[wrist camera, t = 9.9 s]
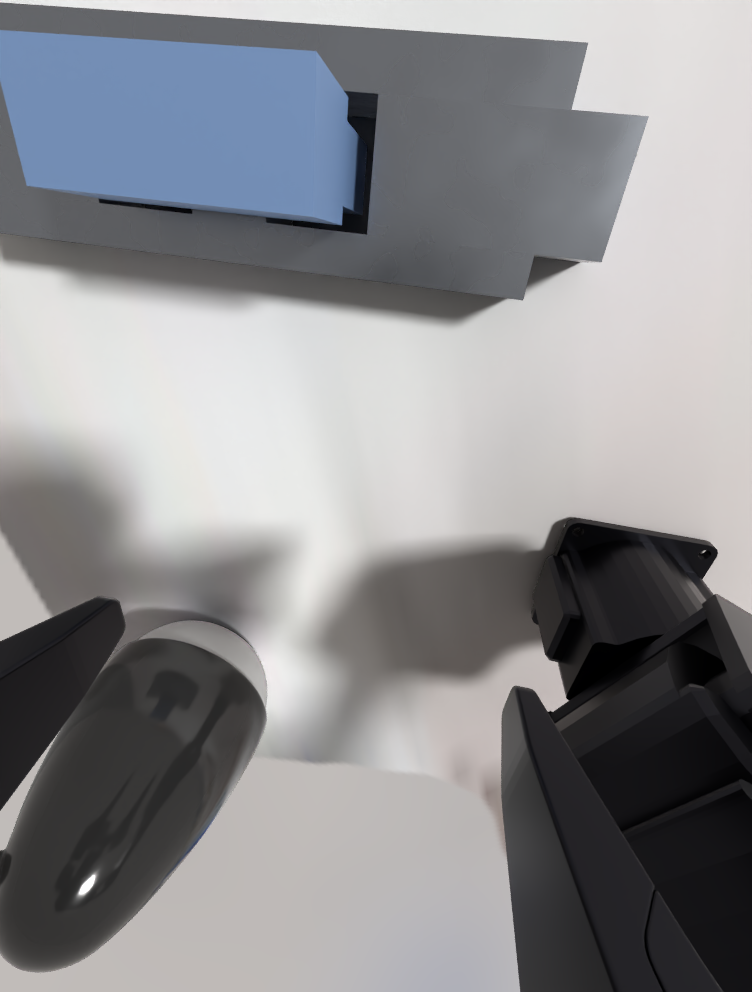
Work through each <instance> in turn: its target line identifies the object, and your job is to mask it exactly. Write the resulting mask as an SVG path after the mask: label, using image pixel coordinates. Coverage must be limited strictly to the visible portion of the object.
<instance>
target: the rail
mask: <svg viewBox="0 0 752 992" xmlns="http://www.w3.org/2000/svg"><path fill="white" fill-rule="evenodd" d="M0 30H7V31H22V32H37V33H52V34H67V35H82V36H97V37H112V38H127V39H142V40H157V41H172V42H187V43H202V44H217V45H232V46H247V47H262V48H277V49H292V50H306V51H317V53H318V54H319V56H320V57H321V58H322V60H323V61H324V63H325V64H326V66H327V67H328V69H329V70H330V72H331V73H332V74H333V76H334V77H335V79H336V80H337V82H338V83H339V85H340V86H341V87H342V89H343V90H344V92H345V93H346V95H347V96H348V114H347V116H357V117H369V118H376V130H375V142H374V154H373V167H372V179H371V191H370V204H369V216H368V229H367V235H366V234H357V233H349V232H340V231H332V230H323V229H315V228H306V227H298V226H292V220H288V219H279V218H270V217H261V216H252V215H243V214H233V213H224V212H215V211H206V210H197V209H192V214H188V213H179V212H171V211H162V210H154V209H146V207H145V204H142V203H133V202H124V201H114V200H106V199H100V198H94V197H88V196H83V195H77V194H71V193H65V192H59V191H54V190H48V189H42V188H36V187H30V186H27V185H26V181H25V177H24V173H23V169H22V165H21V161H20V157H19V153H18V149H17V145H16V141H15V137H14V133H13V129H12V126H11V122H10V118H9V114H8V110H7V106H6V102H5V98H4V94H3V90H2V86H1V82H0V233H4V234H12V235H20V236H27V237H35V238H43V239H51V240H58V241H66V242H74V243H82V244H90V245H97V246H105V247H113V248H121V249H128V250H136V251H144V252H152V253H160V254H167V255H175V256H183V257H191V258H198V259H206V260H214V261H222V262H230V263H237V264H245V265H253V266H261V267H268V268H276V269H284V270H292V271H300V272H307V273H315V274H323V275H331V276H338V277H346V278H354V279H362V280H369V281H377V282H385V283H393V284H401V285H408V286H416V287H424V288H432V289H439V290H447V291H455V292H463V293H471V294H478V295H486V296H494V297H502V298H509V299H517V300H523V298H524V294H525V290H526V286H527V282H528V278H529V275H530V271H531V267H532V263H533V259H534V257H541V258H550V259H558V260H567V261H575V262H602V259H603V256H604V253H605V250H606V246H607V243H608V240H609V237H610V234H611V231H612V228H613V225H614V222H615V219H616V216H617V212H618V209H619V206H620V203H621V200H622V197H623V194H624V191H625V188H626V185H627V182H628V179H629V175H630V172H631V169H632V166H633V163H634V160H635V157H636V154H637V151H638V148H639V145H640V142H641V138H642V135H643V132H644V129H645V126H646V123H647V120H648V117H649V116H637V115H625V114H614V113H602V112H590V111H578V110H571V109H572V105H573V101H574V97H575V93H576V89H577V85H578V81H579V77H580V73H581V69H582V65H583V61H584V57H585V54H586V50H587V46H588V43H584V42H569V41H554V40H540V39H525V38H510V37H496V36H481V35H467V34H452V33H437V32H423V31H408V30H394V29H379V28H364V27H350V26H335V25H320V24H306V23H291V22H277V21H262V20H247V19H233V18H218V17H204V16H189V15H174V14H160V13H145V12H131V11H116V10H101V9H87V8H72V7H57V6H43V5H28V4H14V3H0Z"/></svg>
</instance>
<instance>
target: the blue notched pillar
mask: <svg viewBox="0 0 752 992" xmlns="http://www.w3.org/2000/svg"><path fill="white" fill-rule="evenodd" d="M0 82H1V86H2V90H3V94H4V98H5V102H6V106H7V110H8V114H9V118H10V122H11V126H12V129H13V133H14V137H15V141H16V145H17V149H18V153H19V157H20V161H21V165H22V169H23V173H24V177H25V181H26V185H27V186H30V187H36V188H42V189H48V190H54V191H59V192H65V193H71V194H77V195H83V196H88V197H94V198H100V199H106V200H114V201H124V202H133V203H142V204H151V205H160V206H169V207H179V208H188V209H197V210H206V211H215V212H224V213H233V214H243V215H252V216H261V217H270V218H279V219H288V220H298V221H307V222H316V223H325V224H334V225H342V214H343V213H347V214H356V215H363V201H364V187H365V173H366V158H367V145H366V143H365V142H364V141H363V140H362V139H361V137H360V136H359V135H358V134H357V132H356V131H355V130H354V129H353V127H352V126H351V125H350V124H349V123H348V121H347V114H348V96H347V95H346V93H345V92H344V90H343V89H342V87H341V86H340V85H339V83H338V82H337V80H336V79H335V77H334V76H333V74H332V73H331V72H330V70H329V69H328V67H327V66H326V64H325V63H324V61H323V60H322V58H321V57H320V56H319V54H318V53H317V51H306V50H292V49H277V48H262V47H247V46H232V45H217V44H202V43H187V42H172V41H157V40H142V39H127V38H112V37H97V36H82V35H67V34H52V33H37V32H22V31H7V30H0Z"/></svg>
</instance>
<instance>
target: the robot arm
mask: <svg viewBox="0 0 752 992" xmlns="http://www.w3.org/2000/svg"><path fill="white" fill-rule="evenodd" d="M577 527H580V528H582V529H581V530H580V531H578V532H573V529H574V528H577ZM703 550H706V551H705V552H704V553H702V554H699V553H700V552H701V551H703ZM717 554H718V552H717V549H716V548H715V547H714V546H713V545H712V544H711V543H710V542H708V541H705V540H700V539H694V538H688V537H683V536H677V535H671V534H666V533H660V532H654V531H649V530H643V529H637V528H632V527H626V526H620V525H615V524H609V523H603V522H598V521H592V520H586V519H581V518H574V519H571V520H569V521H568V522H567V523H566V525H565V527H564V529H563V532H562V534H561V537H560V539H559V542H558V545H557V547H556V550H555V552H554V555H551V556H549V557H548V558H547V559H546V561H545V564H544V566H543V569H542V571H541V574H540V577H539V579H538V582H537V584H536V587H535V590H534V592H533V600H534V606H533V608H532V611H531V616H532V620H533V622H534V623H536V624H538V625H539V628H540V633H541V637H542V642H543V647H544V651H545V655H546V656H547V658H548V659H549V660H551V661H555V662H558V666H559V670H560V674H561V678H562V682H563V686H564V690H565V694H566V698H567V699H568V700H569V701H568V702H567V703H565V704H564V705H562V706H561V707H560V708H558V709H557V710H555V711H554V712H551V711H549V712H547V710H546V709H545V707H544V705H543V704H542V702H541V700H540V699H539V697H538V696H537V694H536V693H535V691H533V690H532V689H529V688H525V687H520V686H514V687H513V688H512V689H511V691H510V694H509V696H508V698H507V701H506V703H505V706H504V708H503V712H502V745H501V798H502V811H503V822H504V832H505V842H506V852H507V862H508V871H509V882H510V891H511V902H512V912H513V922H514V932H515V942H516V953H517V963H518V973H519V983H520V992H752V615H751V614H749V613H748V612H746V611H744V610H743V609H741V608H739V607H738V606H736V605H734V604H733V603H731V602H730V601H728V600H726V599H725V598H723V597H721V596H720V595H718V594H715V595H713V593H712V592H711V591H710V589H709V588H708V587H707V585H706V584H705V583H704V582H703V580H702V579H703V577H704V576H705V574H706V573H707V571H708V570H709V568H710V566H711V565H712V563H713V562H714V560H715V559H716V557H717ZM124 630H125V620H124V616H123V613H122V609H121V605H120V602H119V601H118V600H117V599H114V598H109V597H105V596H99V597H96V598H94V599H91V600H89V601H87V602H85V603H83V604H81V605H78V606H76V607H74V608H72V609H70V610H68V611H65V612H63V613H61V614H59V615H57V616H55V617H52V618H50V619H48V620H46V621H44V622H41V623H39V624H37V625H35V626H33V627H31V628H28V629H26V630H24V631H22V632H20V633H18V634H15V635H13V636H11V637H9V638H7V639H5V640H2V641H0V810H1V809H2V808H3V806H4V805H5V804H6V802H7V801H8V800H9V798H10V797H11V796H12V794H13V793H14V792H15V790H16V789H17V787H18V786H19V785H20V783H21V782H22V781H23V779H24V778H25V777H26V775H27V774H28V773H29V771H30V770H31V769H32V767H33V766H34V765H35V763H36V762H37V761H38V759H39V758H40V756H41V755H42V754H43V752H44V751H45V750H46V748H47V747H48V746H49V744H50V743H51V742H52V740H53V739H54V738H55V736H56V735H57V734H58V732H59V731H60V730H61V728H62V727H63V726H64V724H65V723H66V722H67V720H68V719H69V717H70V716H71V715H72V713H73V712H74V711H75V709H76V708H77V707H78V705H79V704H80V702H81V701H82V700H83V698H84V697H85V695H86V694H87V692H88V691H89V689H90V688H91V686H92V684H93V683H94V681H95V680H96V678H97V676H98V675H99V673H100V671H101V670H102V668H103V666H104V665H105V663H106V662H107V660H108V658H109V657H110V655H111V653H112V652H113V650H114V648H115V647H116V645H117V643H118V642H119V640H120V639H121V637H122V635H123V633H124Z"/></svg>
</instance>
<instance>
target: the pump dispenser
mask: <svg viewBox="0 0 752 992" xmlns="http://www.w3.org/2000/svg"><path fill="white" fill-rule="evenodd" d="M266 703H267V681H266V676H265V672H264V669H263V666H262V663H261V661H260V659H259V658H258V656H257V654H256V653H255V651H254V650H253V649H252V647H251V646H250V645H249V644H248V643H247V642H246V641H245V640H243V639H242V638H241V637H240V636H238V635H237V634H236V633H234V632H232V631H231V630H229V629H227V628H224V627H222V626H220V625H217V624H213V623H210V622H205V621H195V620H188V621H179V622H173V623H170V624H166V625H163V626H161V627H158V628H156V629H154V630H152V631H150V632H149V633H147V634H145V635H144V636H142V637H141V638H139V639H138V640H136V641H133V642H130V643H128V644H126V645H124V646H123V647H121V648H120V649H119V650H118V651H117V652H116V653H115V654H114V655H113V656H112V657H111V658H110V659H109V661H108V662H107V663H106V664H105V665H104V667H103V668H102V670H101V671H100V673H99V675H98V676H97V678H96V680H95V681H94V683H93V684H92V686H91V688H90V689H89V691H88V692H87V694H86V695H85V697H84V698H83V700H82V701H81V702H80V704H79V705H78V707H77V708H76V709H75V711H74V712H73V713H72V715H71V716H70V717H69V719H68V720H67V722H66V723H65V724H64V726H63V727H62V728H61V730H60V732H59V733H58V735H57V737H56V739H55V740H54V742H53V744H52V746H51V748H50V749H49V751H48V753H47V755H46V757H45V759H44V761H43V763H42V765H41V766H40V769H39V771H38V772H37V774H36V777H35V779H34V781H33V783H32V785H31V787H30V789H29V791H28V794H27V796H26V798H25V801H24V803H23V806H22V808H21V810H20V813H19V816H18V818H17V821H16V824H15V827H14V829H13V832H12V835H11V838H10V840H9V842H8V845H7V847H6V849H4V850H1V851H0V954H1V955H2V957H3V958H4V959H5V960H6V961H7V962H8V963H10V964H11V965H12V966H14V967H16V968H18V969H20V970H23V971H28V972H50V971H55V970H59V969H62V968H66V967H68V966H71V965H73V964H75V963H78V962H80V961H81V960H83V959H85V958H86V957H88V956H89V955H91V954H92V953H94V952H95V951H96V950H98V949H99V948H100V947H101V946H102V945H104V944H105V943H106V942H107V941H109V940H110V939H111V938H112V937H113V936H114V935H115V934H116V933H117V932H119V931H120V930H121V929H122V928H123V927H124V926H125V925H126V924H127V923H128V922H129V921H130V920H131V919H132V918H133V917H134V916H135V915H136V914H137V913H138V912H139V911H140V910H141V909H142V908H143V907H144V906H145V905H146V903H147V902H148V901H149V900H150V899H151V898H152V897H153V896H154V894H155V893H156V892H157V891H158V890H159V889H160V888H161V887H162V886H163V884H164V883H165V882H166V881H167V880H168V879H169V877H170V876H171V875H172V874H173V873H174V871H175V870H176V869H177V868H178V867H179V865H180V864H181V863H182V862H183V861H184V859H185V858H186V857H187V856H188V854H189V853H190V852H191V850H192V849H193V848H194V847H195V845H196V844H197V843H198V841H199V840H200V839H201V837H202V836H203V835H204V833H205V832H206V830H207V829H208V828H209V826H210V825H211V824H212V822H213V821H214V819H215V818H216V816H217V815H218V813H219V812H220V810H221V809H222V807H223V806H224V804H225V803H226V801H227V799H228V798H229V796H230V795H231V793H232V791H233V790H234V788H235V786H236V785H237V783H238V781H239V780H240V778H241V776H242V774H243V773H244V771H245V769H246V767H247V765H248V764H249V762H250V760H251V758H252V756H253V755H254V753H255V751H256V749H257V746H258V744H259V742H260V740H261V738H262V735H263V733H264V730H265V727H266V721H267V715H266Z"/></svg>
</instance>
